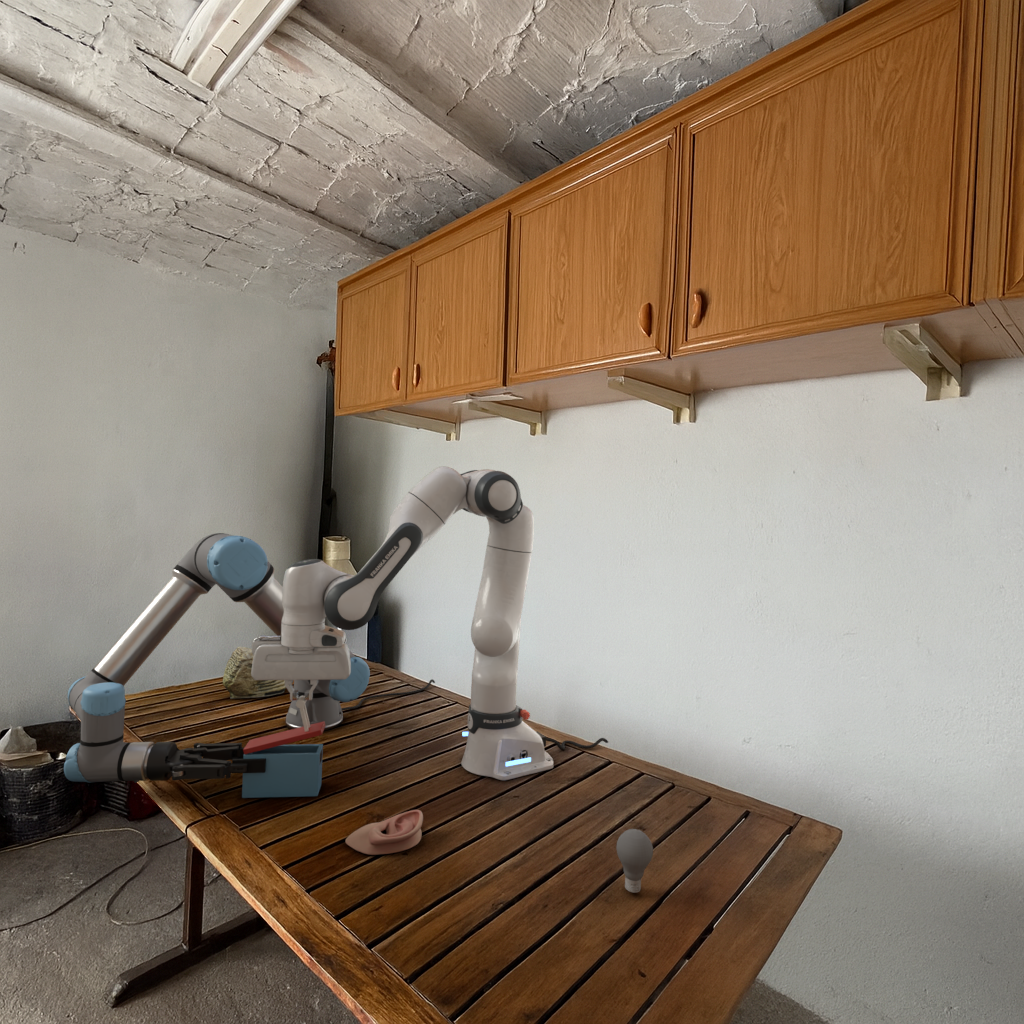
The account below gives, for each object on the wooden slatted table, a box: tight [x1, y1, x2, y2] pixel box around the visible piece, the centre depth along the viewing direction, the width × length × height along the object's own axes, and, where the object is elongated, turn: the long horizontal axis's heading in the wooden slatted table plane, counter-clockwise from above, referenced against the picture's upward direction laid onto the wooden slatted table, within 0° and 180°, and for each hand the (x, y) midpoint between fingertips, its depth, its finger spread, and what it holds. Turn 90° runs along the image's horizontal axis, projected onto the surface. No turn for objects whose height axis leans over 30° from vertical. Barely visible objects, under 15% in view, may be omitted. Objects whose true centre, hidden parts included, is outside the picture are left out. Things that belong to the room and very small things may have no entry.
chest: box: [241, 743, 324, 799], centre depth 135 cm, size 15×5×9 cm, turn 99°
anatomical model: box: [344, 809, 424, 856], centre depth 118 cm, size 13×4×12 cm
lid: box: [243, 696, 326, 754], centre depth 135 cm, size 16×5×8 cm, turn 98°
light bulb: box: [615, 828, 654, 894], centre depth 106 cm, size 6×6×10 cm
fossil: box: [222, 646, 287, 699], centre depth 198 cm, size 9×18×15 cm, turn 132°
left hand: (268, 759), depth 135 cm, fingers closed on chest, 5 cm apart
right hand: (301, 699), depth 136 cm, fingers closed on lid, 2 cm apart
